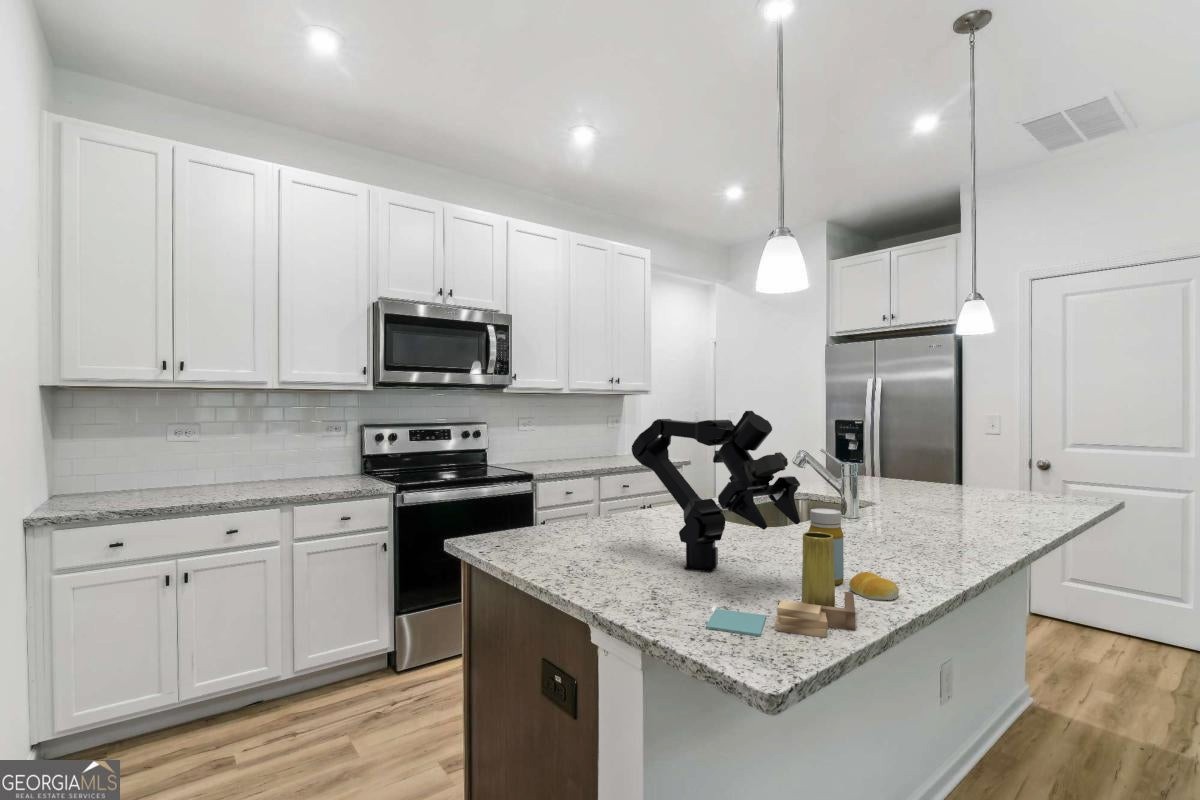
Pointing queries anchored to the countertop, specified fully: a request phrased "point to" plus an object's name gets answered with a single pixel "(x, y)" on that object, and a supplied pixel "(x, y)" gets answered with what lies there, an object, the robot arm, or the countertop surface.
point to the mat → (737, 622)
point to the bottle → (831, 524)
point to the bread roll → (873, 587)
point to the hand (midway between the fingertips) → (782, 525)
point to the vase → (818, 569)
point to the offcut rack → (814, 617)
